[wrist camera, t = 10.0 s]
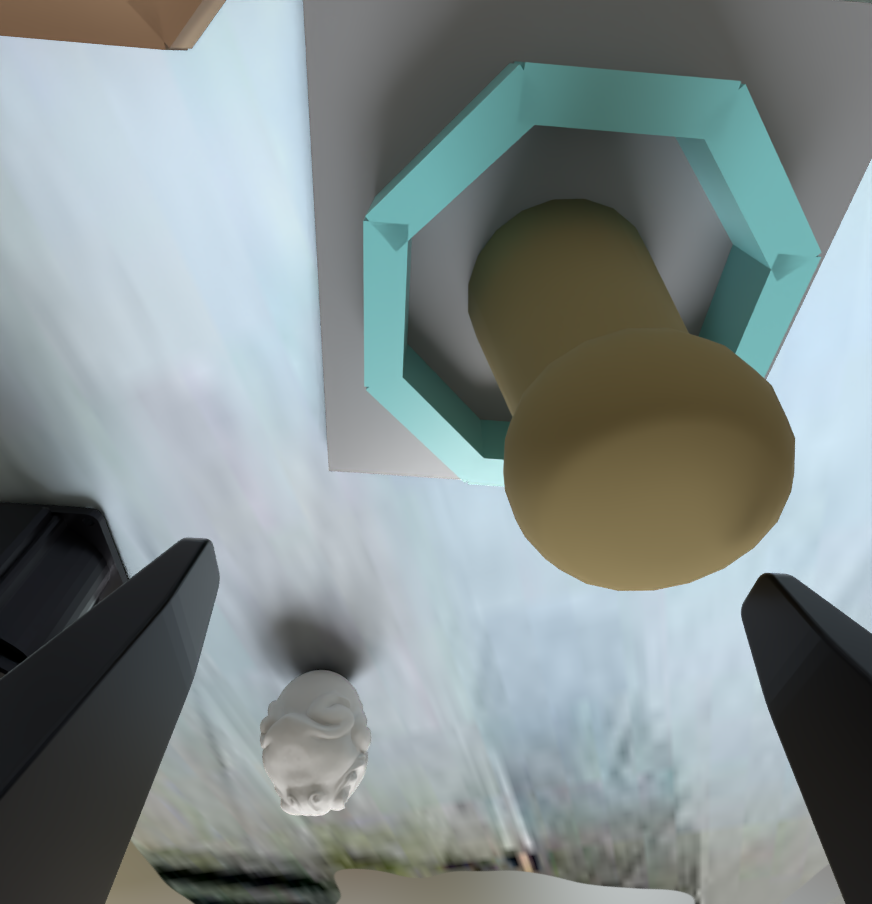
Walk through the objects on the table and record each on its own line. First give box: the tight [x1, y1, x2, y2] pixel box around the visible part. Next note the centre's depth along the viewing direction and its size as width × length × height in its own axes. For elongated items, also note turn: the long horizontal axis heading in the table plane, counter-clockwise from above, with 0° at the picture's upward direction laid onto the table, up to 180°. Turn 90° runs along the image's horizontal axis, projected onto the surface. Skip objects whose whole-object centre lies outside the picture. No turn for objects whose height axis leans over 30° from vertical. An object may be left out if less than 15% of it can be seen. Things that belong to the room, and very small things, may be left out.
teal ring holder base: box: [303, 0, 872, 487], centre depth 18 cm, size 16×16×4 cm
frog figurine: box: [260, 670, 371, 816], centre depth 31 cm, size 6×7×7 cm
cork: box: [468, 199, 795, 591], centre depth 14 cm, size 6×6×11 cm
